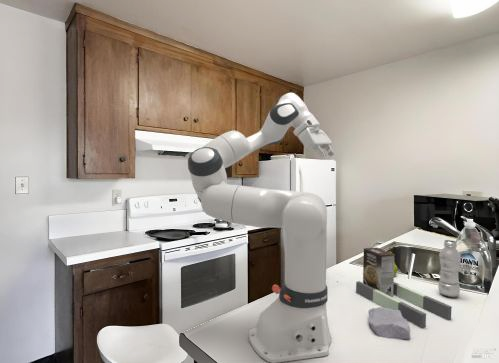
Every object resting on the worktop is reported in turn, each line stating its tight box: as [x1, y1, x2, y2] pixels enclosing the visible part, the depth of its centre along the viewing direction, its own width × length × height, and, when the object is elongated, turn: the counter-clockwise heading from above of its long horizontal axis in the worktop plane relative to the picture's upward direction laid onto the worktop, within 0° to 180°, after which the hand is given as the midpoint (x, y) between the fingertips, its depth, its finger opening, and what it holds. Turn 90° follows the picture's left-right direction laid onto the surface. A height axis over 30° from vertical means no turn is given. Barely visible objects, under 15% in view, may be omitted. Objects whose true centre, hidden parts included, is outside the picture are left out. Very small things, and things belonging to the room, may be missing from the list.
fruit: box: [388, 247, 399, 276], centre depth 123 cm, size 6×6×12 cm
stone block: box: [367, 307, 411, 341], centre depth 82 cm, size 12×5×10 cm
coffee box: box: [362, 247, 396, 298], centre depth 104 cm, size 9×6×16 cm
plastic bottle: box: [437, 239, 462, 298], centre depth 103 cm, size 6×7×20 cm
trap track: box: [355, 280, 453, 329], centre depth 96 cm, size 13×26×4 cm, turn 23°
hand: (328, 156), depth 108 cm, fingers open, 8 cm apart
